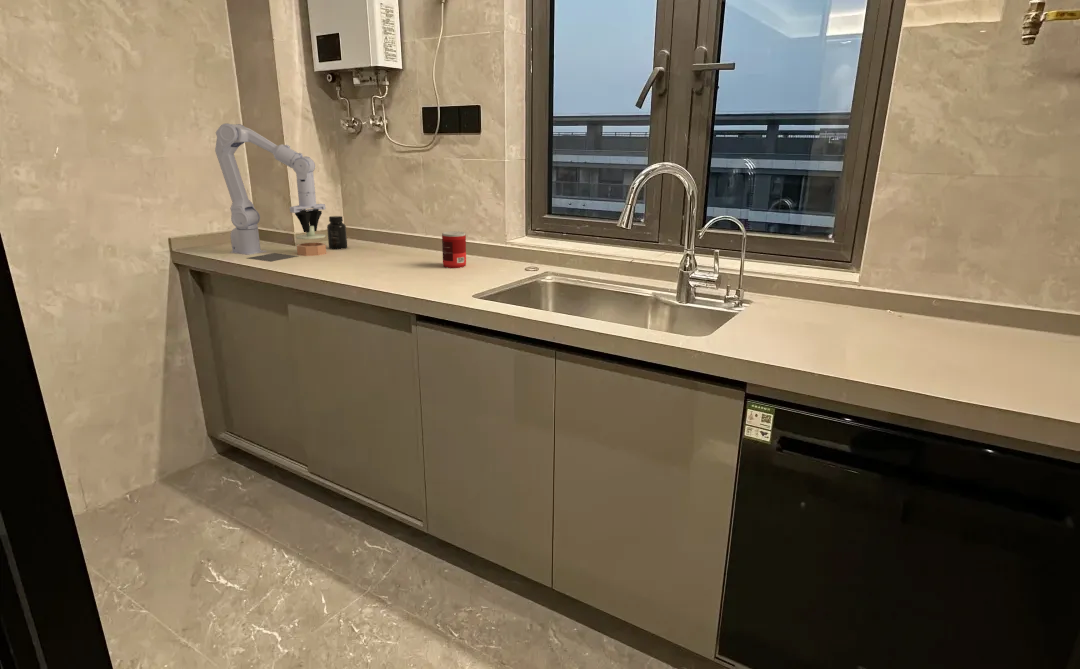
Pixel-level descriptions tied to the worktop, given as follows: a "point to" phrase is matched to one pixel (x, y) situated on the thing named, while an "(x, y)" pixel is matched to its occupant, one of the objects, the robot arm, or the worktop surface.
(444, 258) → the canned food
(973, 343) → the worktop surface
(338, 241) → the supplement bottle
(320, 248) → the bowl
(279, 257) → the mat
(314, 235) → the lid
